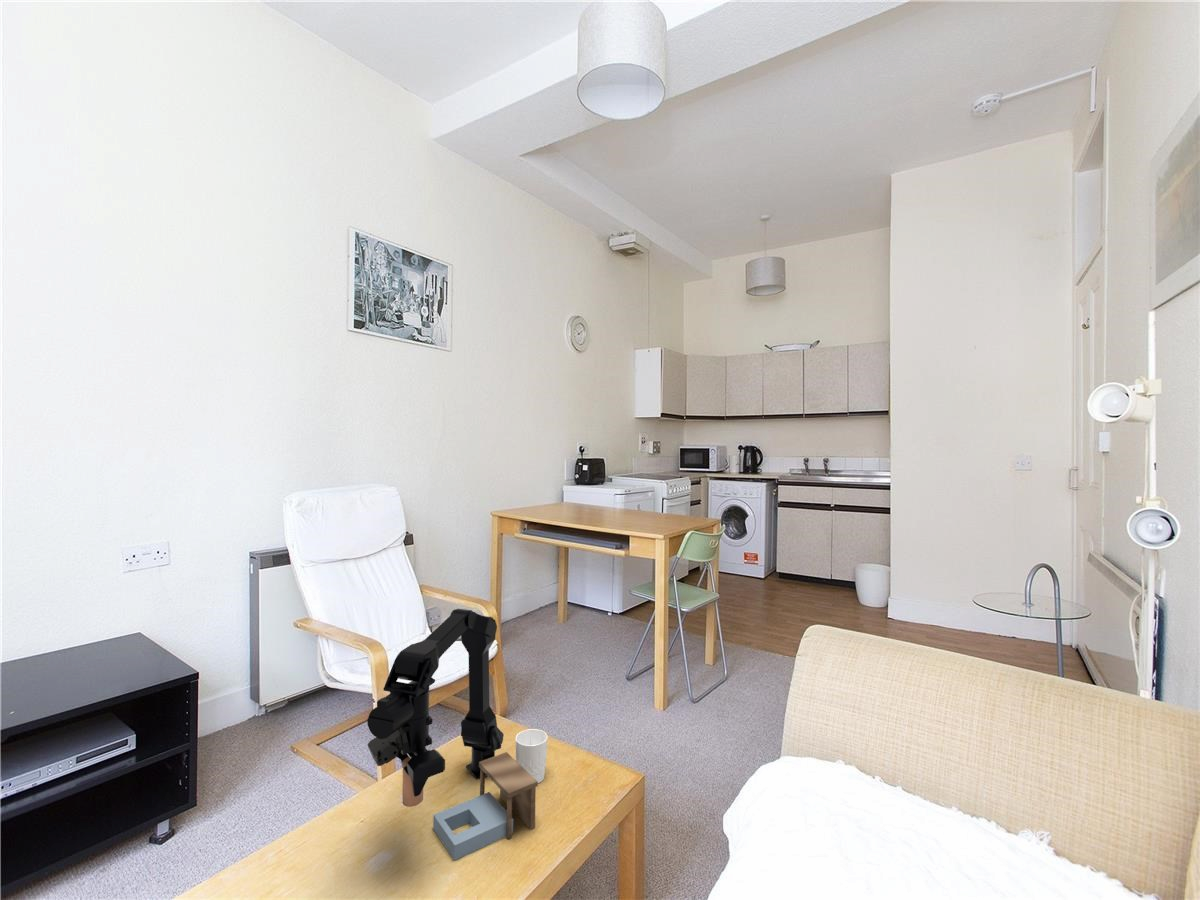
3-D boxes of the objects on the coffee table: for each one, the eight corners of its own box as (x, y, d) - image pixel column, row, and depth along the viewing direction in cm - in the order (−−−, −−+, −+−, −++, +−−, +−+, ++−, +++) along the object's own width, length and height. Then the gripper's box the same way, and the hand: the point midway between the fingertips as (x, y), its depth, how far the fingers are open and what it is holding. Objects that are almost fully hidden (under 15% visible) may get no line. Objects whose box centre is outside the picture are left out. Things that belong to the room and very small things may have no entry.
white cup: (553, 777, 135) (554, 737, 135) (528, 791, 129) (529, 749, 129) (532, 764, 140) (533, 725, 140) (508, 777, 134) (508, 737, 134)
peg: (399, 798, 111) (400, 759, 110) (419, 791, 113) (419, 753, 113) (406, 809, 107) (406, 769, 107) (426, 801, 110) (426, 762, 110)
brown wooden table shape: (478, 805, 124) (478, 762, 124) (505, 793, 128) (506, 751, 128) (507, 840, 113) (508, 793, 113) (536, 826, 117) (537, 781, 117)
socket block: (433, 828, 116) (433, 814, 116) (489, 804, 124) (489, 791, 124) (454, 860, 107) (454, 845, 107) (513, 832, 115) (513, 818, 115)
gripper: (359, 706, 113) (359, 781, 113) (386, 747, 98) (385, 833, 98) (413, 692, 119) (413, 762, 119) (446, 728, 105) (445, 808, 105)
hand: (413, 789), depth 110 cm, fingers closed on peg, 4 cm apart
